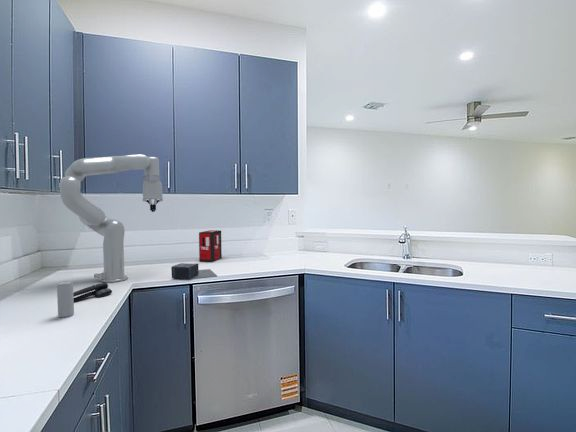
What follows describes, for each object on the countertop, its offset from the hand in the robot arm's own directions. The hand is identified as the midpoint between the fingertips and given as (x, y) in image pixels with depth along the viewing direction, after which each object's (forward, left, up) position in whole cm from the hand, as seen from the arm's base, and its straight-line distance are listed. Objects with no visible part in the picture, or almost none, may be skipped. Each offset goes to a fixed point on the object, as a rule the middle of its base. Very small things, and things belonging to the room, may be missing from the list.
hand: (153, 211), depth 191 cm
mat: (+21, -14, -35) cm, 43 cm away
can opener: (-28, -41, -36) cm, 61 cm away
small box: (+10, -15, -32) cm, 37 cm away
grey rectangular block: (-33, -63, -35) cm, 79 cm away
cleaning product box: (+38, +29, -35) cm, 59 cm away
